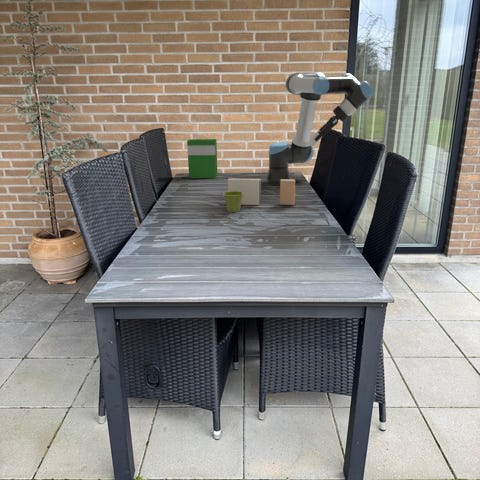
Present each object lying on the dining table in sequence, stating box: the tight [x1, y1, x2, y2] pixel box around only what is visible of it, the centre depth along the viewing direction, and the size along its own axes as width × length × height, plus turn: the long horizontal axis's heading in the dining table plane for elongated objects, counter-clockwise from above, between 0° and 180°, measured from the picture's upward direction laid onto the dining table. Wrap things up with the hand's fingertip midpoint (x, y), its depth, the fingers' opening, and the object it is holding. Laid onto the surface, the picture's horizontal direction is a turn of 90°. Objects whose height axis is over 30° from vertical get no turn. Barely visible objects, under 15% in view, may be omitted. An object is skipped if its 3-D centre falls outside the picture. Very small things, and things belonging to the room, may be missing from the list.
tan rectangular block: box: [279, 178, 296, 206], centre depth 220 cm, size 3×7×12 cm, turn 80°
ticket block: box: [227, 177, 262, 206], centre depth 224 cm, size 3×16×12 cm, turn 80°
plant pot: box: [222, 191, 243, 213], centre depth 212 cm, size 9×9×9 cm
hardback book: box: [186, 138, 219, 179], centre depth 288 cm, size 18×7×24 cm, turn 86°
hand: (310, 143), depth 217 cm, fingers open, 13 cm apart
